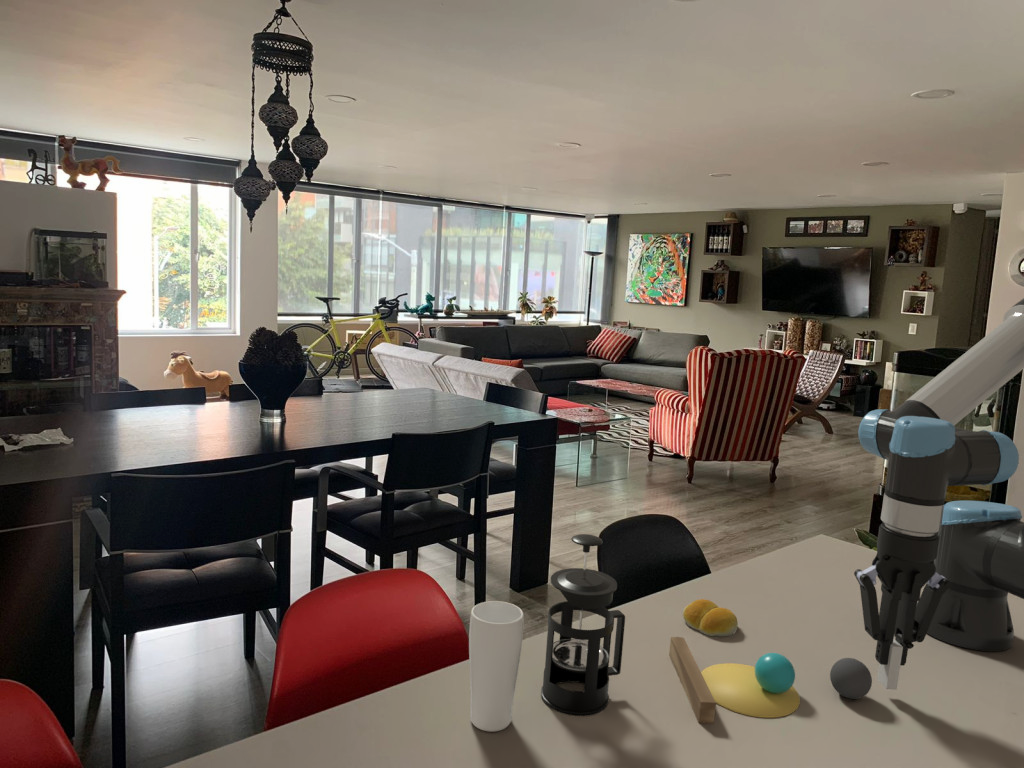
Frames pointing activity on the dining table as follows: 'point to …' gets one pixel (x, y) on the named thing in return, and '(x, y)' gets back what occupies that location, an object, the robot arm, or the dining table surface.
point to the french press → (582, 639)
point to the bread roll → (710, 618)
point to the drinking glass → (494, 662)
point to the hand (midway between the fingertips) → (886, 684)
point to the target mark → (747, 692)
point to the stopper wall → (692, 681)
